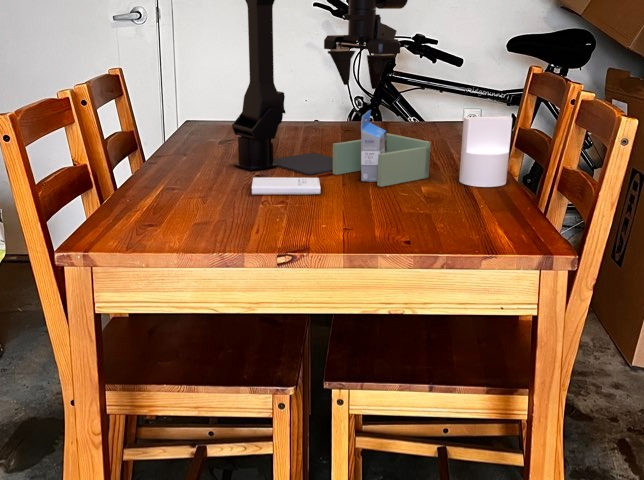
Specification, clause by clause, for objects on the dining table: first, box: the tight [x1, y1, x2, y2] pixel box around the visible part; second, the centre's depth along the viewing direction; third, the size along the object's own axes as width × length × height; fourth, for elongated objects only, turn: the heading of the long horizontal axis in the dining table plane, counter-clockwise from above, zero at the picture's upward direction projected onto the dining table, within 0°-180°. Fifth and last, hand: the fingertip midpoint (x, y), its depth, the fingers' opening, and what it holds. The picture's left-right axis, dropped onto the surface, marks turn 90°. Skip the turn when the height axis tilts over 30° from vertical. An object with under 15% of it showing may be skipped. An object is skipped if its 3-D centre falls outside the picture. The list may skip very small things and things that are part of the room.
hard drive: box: [251, 177, 322, 196], centre depth 151 cm, size 2×8×12 cm
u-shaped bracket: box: [332, 132, 432, 188], centre depth 161 cm, size 13×14×7 cm
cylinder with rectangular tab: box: [458, 115, 513, 188], centre depth 155 cm, size 9×9×12 cm
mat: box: [272, 152, 333, 176], centre depth 172 cm, size 14×16×1 cm
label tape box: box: [360, 109, 388, 183], centre depth 159 cm, size 9×4×12 cm, turn 167°
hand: (359, 86), depth 177 cm, fingers open, 9 cm apart
